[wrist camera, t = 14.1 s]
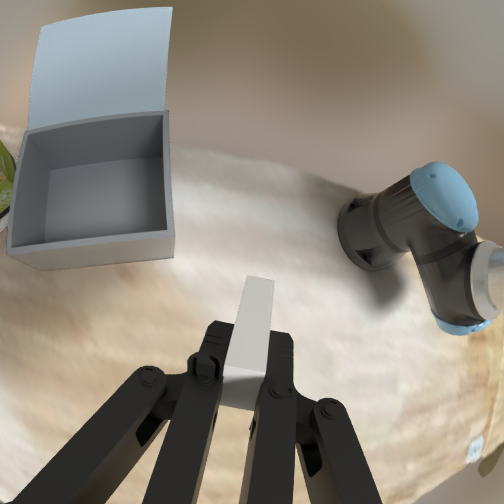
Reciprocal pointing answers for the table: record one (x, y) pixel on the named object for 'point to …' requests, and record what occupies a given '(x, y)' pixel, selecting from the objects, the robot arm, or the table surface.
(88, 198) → the storage box
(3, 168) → the tea box
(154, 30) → the lid
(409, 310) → the table surface
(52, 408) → the table surface
